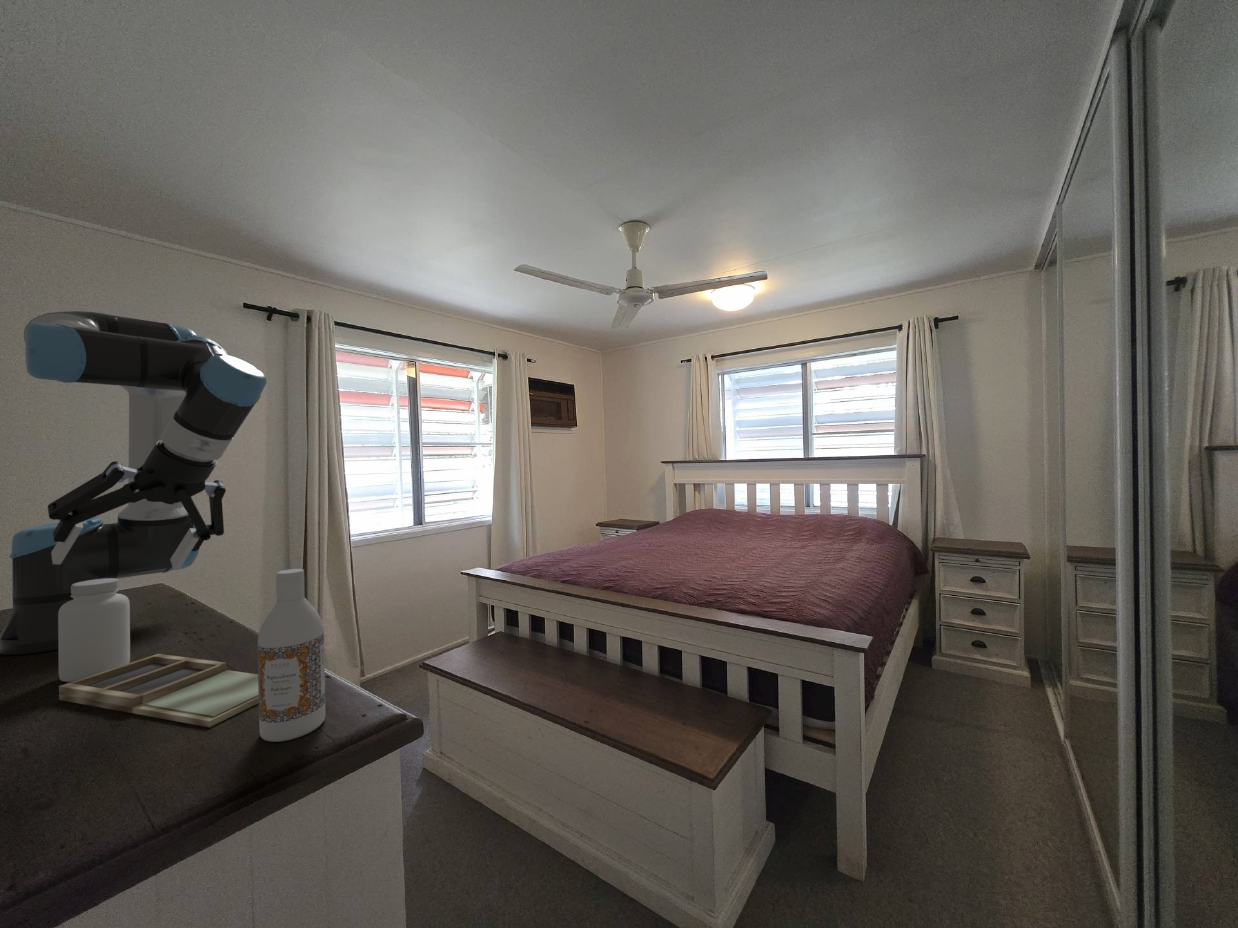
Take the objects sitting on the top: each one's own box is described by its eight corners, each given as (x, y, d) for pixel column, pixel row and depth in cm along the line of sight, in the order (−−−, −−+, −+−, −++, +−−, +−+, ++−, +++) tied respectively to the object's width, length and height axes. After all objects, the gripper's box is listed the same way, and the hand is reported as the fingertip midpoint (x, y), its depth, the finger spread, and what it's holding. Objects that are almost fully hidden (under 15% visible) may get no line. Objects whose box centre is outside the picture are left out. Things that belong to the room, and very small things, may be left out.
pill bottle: (140, 666, 81) (138, 578, 81) (70, 687, 73) (68, 589, 73) (118, 659, 84) (116, 574, 84) (49, 678, 77) (47, 585, 77)
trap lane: (59, 699, 69) (59, 685, 69) (158, 665, 81) (158, 653, 81) (209, 727, 61) (209, 711, 61) (295, 684, 73) (295, 671, 73)
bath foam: (247, 747, 57) (243, 579, 56) (275, 717, 63) (272, 567, 63) (313, 739, 58) (309, 575, 58) (333, 710, 65) (330, 563, 65)
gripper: (75, 438, 60) (-7, 573, 61) (284, 480, 82) (220, 580, 83) (69, 410, 64) (-8, 538, 65) (270, 458, 85) (209, 553, 87)
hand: (119, 561), depth 74 cm, fingers open, 13 cm apart
